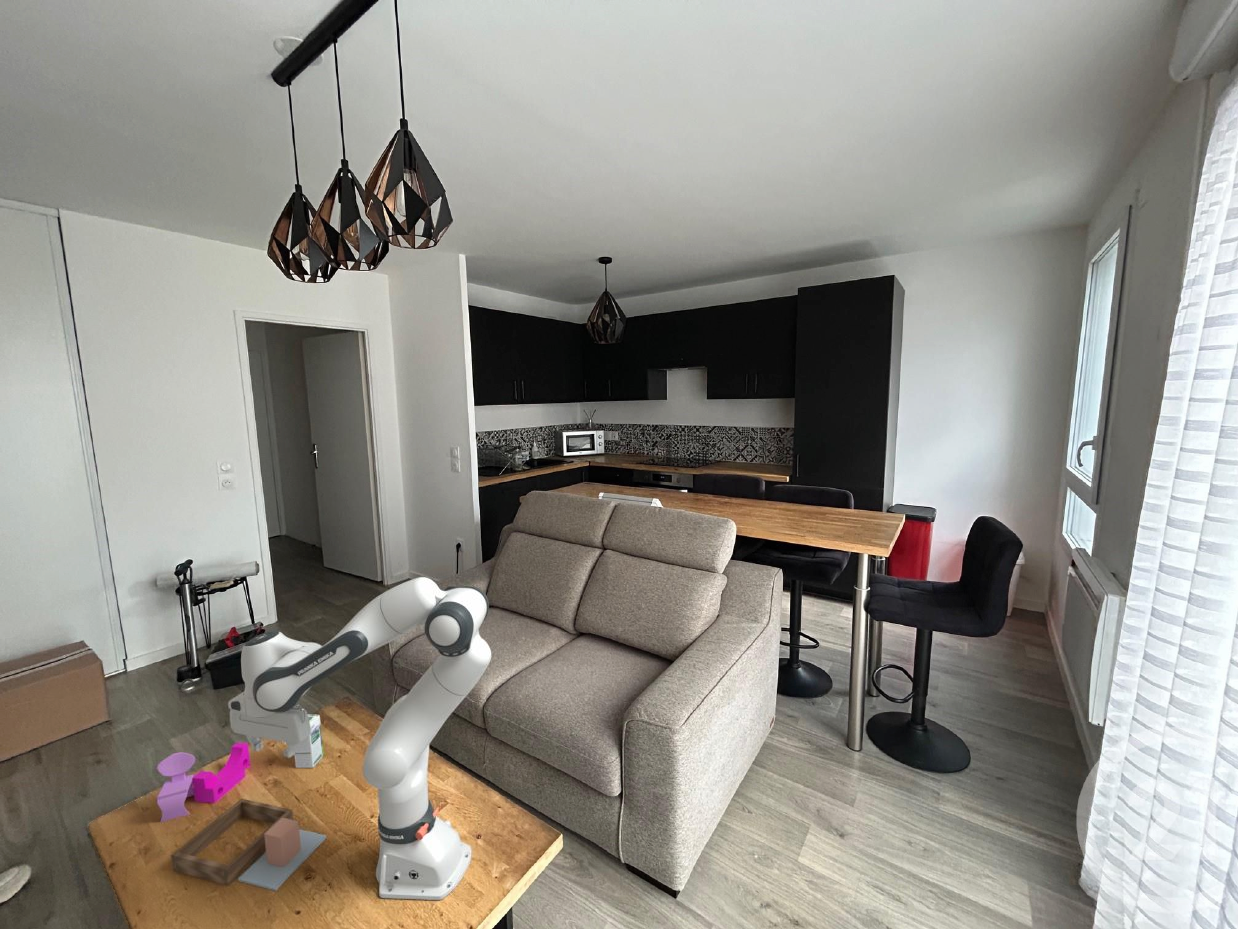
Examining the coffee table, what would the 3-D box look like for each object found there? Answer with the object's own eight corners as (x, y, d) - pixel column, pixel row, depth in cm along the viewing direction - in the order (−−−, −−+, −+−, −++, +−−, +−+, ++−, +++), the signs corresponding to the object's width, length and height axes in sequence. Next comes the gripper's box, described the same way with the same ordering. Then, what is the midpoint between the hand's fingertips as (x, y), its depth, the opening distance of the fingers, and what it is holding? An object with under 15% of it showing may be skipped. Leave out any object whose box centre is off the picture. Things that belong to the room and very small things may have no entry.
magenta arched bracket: (214, 803, 144) (212, 779, 143) (195, 801, 145) (192, 778, 144) (257, 766, 159) (255, 744, 158) (239, 764, 160) (237, 742, 159)
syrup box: (313, 768, 158) (309, 725, 156) (294, 768, 158) (290, 725, 156) (324, 755, 164) (320, 714, 162) (306, 755, 164) (302, 713, 162)
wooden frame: (293, 824, 137) (292, 809, 136) (228, 886, 120) (226, 869, 119) (243, 813, 141) (241, 798, 140) (173, 871, 123) (171, 855, 123)
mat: (326, 838, 133) (326, 835, 133) (275, 892, 118) (275, 889, 118) (291, 830, 135) (291, 827, 135) (238, 881, 121) (237, 878, 121)
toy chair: (154, 825, 137) (147, 775, 135) (166, 802, 145) (159, 754, 143) (193, 814, 141) (187, 765, 139) (202, 792, 148) (197, 745, 146)
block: (301, 849, 128) (298, 821, 127) (283, 867, 124) (280, 838, 123) (284, 845, 130) (282, 817, 129) (267, 863, 125) (264, 834, 124)
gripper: (315, 697, 122) (319, 750, 124) (246, 687, 127) (252, 738, 128) (292, 713, 116) (298, 768, 118) (221, 701, 121) (228, 754, 122)
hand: (273, 752), depth 123 cm, fingers open, 8 cm apart
